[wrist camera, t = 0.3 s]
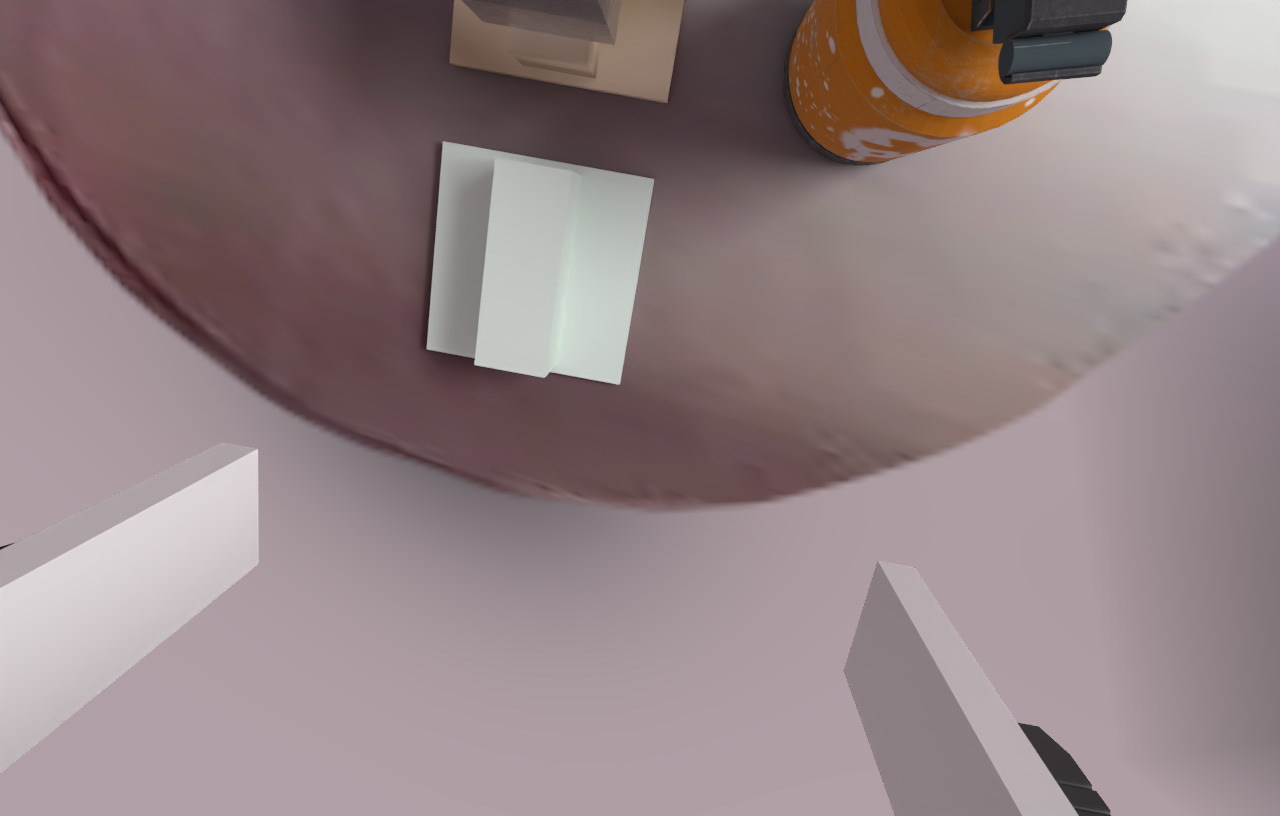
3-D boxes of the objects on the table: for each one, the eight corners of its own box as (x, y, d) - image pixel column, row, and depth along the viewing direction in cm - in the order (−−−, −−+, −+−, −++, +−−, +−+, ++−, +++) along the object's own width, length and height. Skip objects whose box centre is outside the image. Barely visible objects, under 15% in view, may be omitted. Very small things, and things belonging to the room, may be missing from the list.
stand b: (446, 142, 37) (419, 133, 33) (654, 179, 37) (651, 174, 33) (430, 347, 40) (403, 360, 36) (620, 382, 40) (613, 399, 36)
